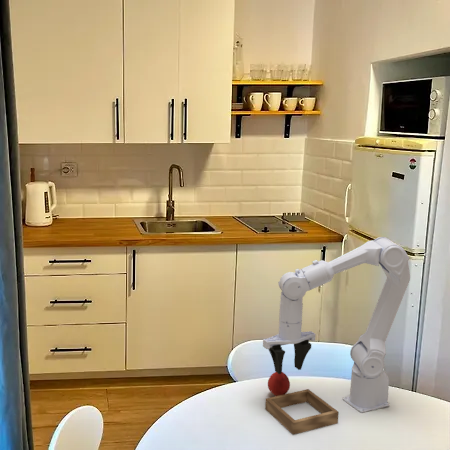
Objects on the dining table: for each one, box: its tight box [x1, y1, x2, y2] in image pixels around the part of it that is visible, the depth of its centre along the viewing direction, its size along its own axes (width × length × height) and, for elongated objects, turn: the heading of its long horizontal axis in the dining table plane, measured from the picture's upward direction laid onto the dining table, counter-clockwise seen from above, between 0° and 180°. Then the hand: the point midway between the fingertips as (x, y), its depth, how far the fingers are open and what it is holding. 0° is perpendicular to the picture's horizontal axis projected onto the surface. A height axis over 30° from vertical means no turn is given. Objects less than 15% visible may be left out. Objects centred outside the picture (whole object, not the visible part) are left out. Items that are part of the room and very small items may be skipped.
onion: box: [267, 371, 291, 397], centre depth 156 cm, size 6×6×8 cm
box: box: [264, 388, 340, 436], centre depth 147 cm, size 13×13×3 cm
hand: (288, 370), depth 151 cm, fingers open, 5 cm apart
